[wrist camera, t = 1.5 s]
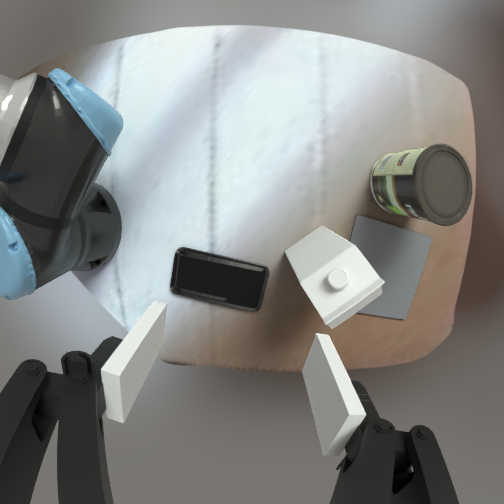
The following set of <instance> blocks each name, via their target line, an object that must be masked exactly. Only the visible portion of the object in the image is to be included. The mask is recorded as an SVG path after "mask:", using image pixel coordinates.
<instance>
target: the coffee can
mask: <svg viewBox="0 0 504 504" xmlns="http://www.w3.org/2000/svg"><path fill="white" fill-rule="evenodd" d="M370 187H371V192H372V195H373V197H374V199H375V201H376V202H377V203H378V205H379V206H380V207H381V208H383V209H384V210H386V211H387V212H390V213H394V214H400V215H405V216H409V217H413V218H418V219H422V220H426V221H429V222H433V223H435V224H438V225H442V226H450V225H453V224H455V223H457V222H459V221H460V220H461V219H462V218H463V217H464V215H465V214H466V212H467V210H468V208H469V206H470V203H471V198H472V178H471V173H470V170H469V167H468V165H467V163H466V161H465V159H464V158H463V156H462V155H461V154H460V153H459V152H458V151H457V150H456V149H455V148H453V147H451V146H449V145H447V144H435V145H431V146H429V147H423V148H417V149H412V150H406V151H401V152H396V153H388V154H385V155H383V156H381V157H380V158H379V159H378V160H377V162H376V163H375V164H374V166H373V168H372V171H371V175H370Z"/></svg>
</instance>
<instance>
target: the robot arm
mask: <svg viewBox="0 0 504 504" xmlns="http://www.w3.org/2000/svg"><path fill="white" fill-rule="evenodd" d="M122 128H123V119H122V116H121V115H120V113H119V112H118V111H117V110H116V109H115V108H113V107H112V106H111V105H110V104H109V103H107V102H106V101H105V100H104V99H102V98H101V97H100V96H98V95H97V94H96V93H94V92H93V91H92V90H90V89H89V88H88V87H86V86H85V85H83V84H82V83H80V82H78V81H77V80H76V79H74V78H73V77H71V76H70V75H69V74H67V73H66V72H64V71H63V70H61V69H58V68H56V69H54V70H53V71H52V72H50V73H49V74H48V78H45V77H43V76H41V75H38V74H37V73H33V74H30V75H28V76H26V77H24V78H22V79H19V80H12V79H10V78H7V77H5V76H2V75H0V182H1V183H0V296H1V297H3V298H5V299H8V300H11V299H12V300H14V299H18V298H20V297H23V296H25V295H30V294H32V293H33V292H34V290H36V289H38V288H39V287H41V286H43V285H45V284H46V283H48V282H50V281H52V280H54V279H55V278H57V277H59V276H61V275H63V274H64V273H66V272H68V271H70V270H75V271H89V270H93V269H96V268H98V267H100V266H101V265H103V264H105V263H106V262H107V261H109V260H110V259H111V258H112V256H113V255H114V253H115V252H116V250H117V248H118V245H119V242H120V238H121V228H122V226H121V217H120V213H119V209H118V207H117V204H116V202H115V201H114V199H113V197H112V196H111V195H110V193H109V192H108V191H107V190H105V189H104V188H103V187H101V186H100V185H98V184H95V183H94V182H95V180H96V178H97V176H98V174H99V172H100V170H101V168H102V167H103V165H104V163H105V161H106V159H107V157H108V156H110V155H111V150H112V148H113V146H114V144H115V142H116V140H117V138H118V136H119V135H120V133H121V131H122ZM166 309H167V304H165V303H161V302H157V301H153V303H152V304H151V305H150V306H149V308H148V309H147V310H146V311H145V313H144V314H143V315H142V316H141V318H140V319H139V320H138V321H137V323H136V324H135V325H134V327H133V328H132V329H131V330H130V332H129V333H128V334H127V336H126V337H125V338H124V339H120V338H116V337H113V336H112V337H109V338H107V339H105V340H104V341H103V342H102V343H101V344H100V345H99V347H98V348H97V349H96V350H95V352H93V353H92V355H91V356H90V355H89V354H87V353H85V352H82V351H71V352H68V353H66V354H65V355H64V356H63V357H62V359H61V363H62V369H63V374H57V373H52V372H47V367H46V365H45V364H44V363H43V362H41V361H39V360H34V359H30V360H26V361H24V362H22V363H21V364H20V365H19V367H18V368H17V369H16V371H15V372H14V374H13V375H12V377H11V378H10V380H9V381H8V383H7V384H6V386H5V387H4V388H3V390H2V392H1V393H0V504H30V501H31V497H32V493H33V490H34V486H35V483H36V479H37V476H38V473H39V470H40V467H41V464H42V461H43V457H44V455H45V452H46V449H47V446H48V444H49V441H50V438H51V436H52V433H53V430H54V428H55V425H56V423H57V420H59V425H58V426H59V427H58V444H57V446H58V447H57V479H58V499H59V504H113V498H112V493H111V487H110V482H109V475H108V469H107V461H106V453H105V444H104V432H103V421H102V415H103V413H104V412H105V410H106V413H107V417H108V418H110V419H113V420H115V421H118V422H121V423H124V422H125V420H126V418H127V416H128V414H129V412H130V410H131V407H132V405H133V403H134V401H135V399H136V397H137V395H138V393H139V391H140V389H141V387H142V385H143V383H144V381H145V379H146V377H147V375H148V373H149V371H150V369H151V367H152V365H153V364H154V362H155V360H156V358H157V356H158V354H159V352H160V350H161V348H162V346H163V340H164V329H165V319H166ZM302 372H303V376H304V380H305V384H306V388H307V392H308V395H309V400H310V403H311V407H312V412H313V416H314V420H315V424H316V428H317V432H318V436H319V440H320V444H321V448H322V452H323V456H333V455H340V453H341V452H342V450H343V449H344V448H345V450H346V453H347V455H346V456H345V458H344V459H343V460H342V461H341V463H340V464H339V465H338V467H337V468H336V470H338V469H339V468H340V467H341V469H340V472H339V476H338V479H337V483H336V486H335V489H334V492H333V496H332V498H331V501H330V504H459V502H458V499H457V495H456V492H455V489H454V486H453V484H452V480H451V477H450V475H449V472H448V469H447V466H446V464H445V461H444V458H443V456H442V453H441V450H440V448H439V445H438V443H437V440H436V438H435V436H434V434H433V432H432V431H431V430H430V429H429V428H427V427H425V426H422V425H416V426H414V427H412V429H411V430H410V432H403V431H397V430H395V427H394V426H393V425H392V423H390V422H389V421H387V420H385V419H382V418H380V417H379V415H378V413H377V411H376V409H375V407H374V405H373V403H372V401H371V399H370V397H369V396H368V393H367V391H366V389H365V387H364V386H363V385H362V384H361V383H360V382H358V381H351V380H350V379H349V377H348V374H347V372H346V370H345V368H344V366H343V364H342V362H341V360H340V357H339V355H338V353H337V351H336V349H335V347H334V345H333V343H332V341H331V339H330V337H329V335H326V334H319V333H316V335H315V338H314V341H313V344H312V346H311V349H310V352H309V355H308V357H307V360H306V363H305V365H304V368H303V370H302ZM411 467H413V470H414V471H413V472H412V470H411Z"/></svg>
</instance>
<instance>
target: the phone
mask: <svg viewBox="0 0 504 504" xmlns="http://www.w3.org/2000/svg"><path fill="white" fill-rule="evenodd" d="M268 278H269V269H268V267H267V266H265V265H261V264H257V263H252V262H248V261H243V260H239V259H234V258H230V257H225V256H221V255H217V254H212V253H208V252H203V251H199V250H194V249H190V248H186V247H181V248H179V249H178V250H177V251H176V253H175V259H174V265H173V272H172V278H171V285H170V288H171V290H172V292H173V293H175V294H179V295H183V296H187V297H191V298H195V299H199V300H203V301H208V302H212V303H216V304H221V305H225V306H230V307H235V308H239V309H244V310H249V311H257V310H259V309H260V307H261V305H262V301H263V297H264V293H265V289H266V285H267V282H268Z"/></svg>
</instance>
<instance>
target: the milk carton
mask: <svg viewBox="0 0 504 504" xmlns="http://www.w3.org/2000/svg"><path fill="white" fill-rule="evenodd" d="M285 254H286V256H287V258H288V260H289V262H290V264H291V266H292V268H293V270H294V272H295V274H296V276H297V278H298V280H299V282H300V284H301V286H302V287H303V289H304V291H305V292H306V294H307V295H308V297H309V298H310V300H311V301H312V303H313V305H314V306H315V308H316V309H317V311H318V312H319V314H320V316H321V317H322V319H323V321H324V323H325V324H326V325H327V324H328V325H329V327H330V328H331V329H333V328H335V327H336V326H338V325H339V324H341V323H342V322H344V321H345V320H347V319H348V318H349V317H351V316H352V315H354V314H355V313H357V312H358V311H359V310H361V309H362V308H363V307H365V306H366V305H368V304H369V303H370V302H372V301H373V300H374V299H376V298H377V297H378V296H380V295H381V294H382V286H381V285H383V284H384V283H385V282H384V280H382V279H381V278H380V277H379V276H378V274H377V273H376V272H375V270H374V269H373V268H372V266H371V265H370V264H369V262H368V261H367V260H366V258H365V257H364V256H363V254H362V253H361V252H360V251H359V249H358V248H357V247H356V245H354V244H353V243H351V242H349V241H348V240H346V239H344V238H343V237H341V236H339V235H337V234H336V233H334V232H332V231H331V230H329V229H327V228H325V227H324V226H319V227H318V228H317V229H315V230H314V231H312V232H311V233H310V234H308V235H307V236H305V237H304V238H302V239H301V240H300V241H298V242H297V243H295V244H294V245H293V246H291V247H290V248H288V249H287V250H286V251H285Z"/></svg>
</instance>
